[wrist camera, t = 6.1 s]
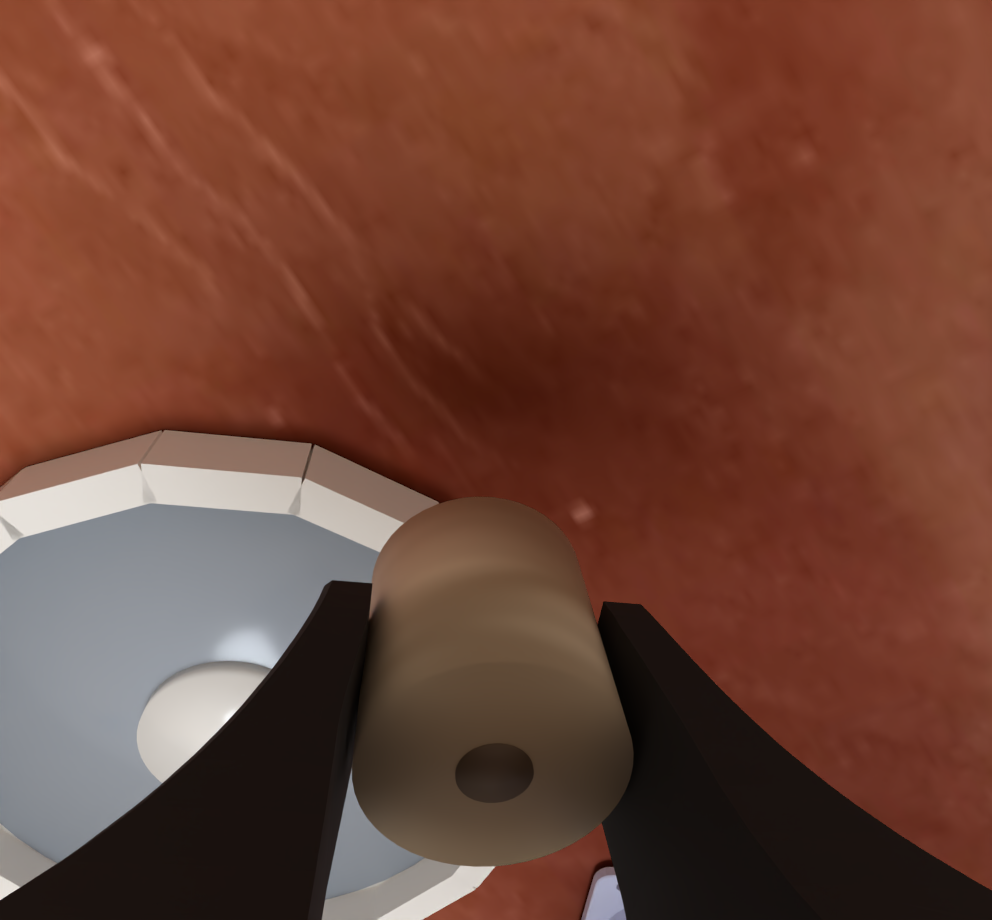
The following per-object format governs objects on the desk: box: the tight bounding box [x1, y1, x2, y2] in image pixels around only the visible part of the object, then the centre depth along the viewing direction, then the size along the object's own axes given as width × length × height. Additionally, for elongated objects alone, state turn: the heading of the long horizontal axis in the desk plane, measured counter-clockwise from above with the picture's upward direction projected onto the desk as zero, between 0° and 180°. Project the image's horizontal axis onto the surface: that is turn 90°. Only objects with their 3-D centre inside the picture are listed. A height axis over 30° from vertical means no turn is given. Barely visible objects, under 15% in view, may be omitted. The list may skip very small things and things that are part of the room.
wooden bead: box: [352, 497, 634, 867], centre depth 12 cm, size 4×4×4 cm
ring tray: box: [0, 430, 495, 920], centre depth 23 cm, size 18×18×2 cm
